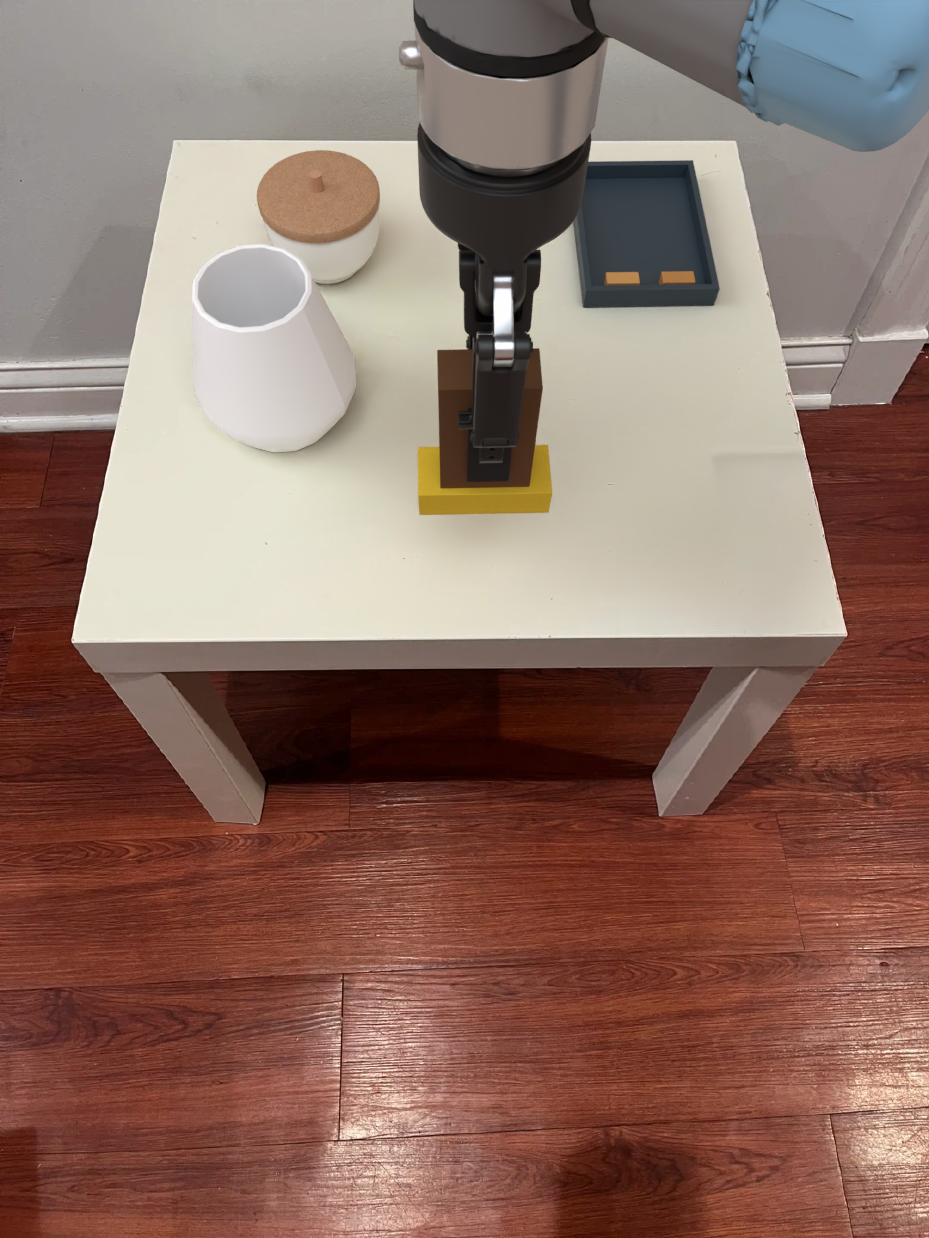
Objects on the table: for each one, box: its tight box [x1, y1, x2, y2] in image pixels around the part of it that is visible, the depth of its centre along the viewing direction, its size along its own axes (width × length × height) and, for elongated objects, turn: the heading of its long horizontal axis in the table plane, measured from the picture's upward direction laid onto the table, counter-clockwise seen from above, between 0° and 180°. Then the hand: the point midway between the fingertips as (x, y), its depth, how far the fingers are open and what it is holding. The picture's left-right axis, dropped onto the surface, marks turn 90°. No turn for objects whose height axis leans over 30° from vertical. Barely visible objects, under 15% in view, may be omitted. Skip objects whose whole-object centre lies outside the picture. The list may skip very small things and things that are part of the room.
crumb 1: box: [604, 272, 640, 286], centre depth 83 cm, size 1×3×1 cm, turn 92°
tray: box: [572, 159, 721, 309], centre depth 86 cm, size 17×12×2 cm
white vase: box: [191, 243, 357, 454], centre depth 71 cm, size 13×13×14 cm
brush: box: [417, 347, 553, 516], centre depth 58 cm, size 9×4×12 cm, turn 92°
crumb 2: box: [658, 271, 695, 285], centre depth 83 cm, size 1×3×1 cm, turn 92°
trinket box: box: [256, 149, 381, 285], centre depth 81 cm, size 11×11×9 cm
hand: (486, 452), depth 59 cm, fingers closed on brush, 3 cm apart
